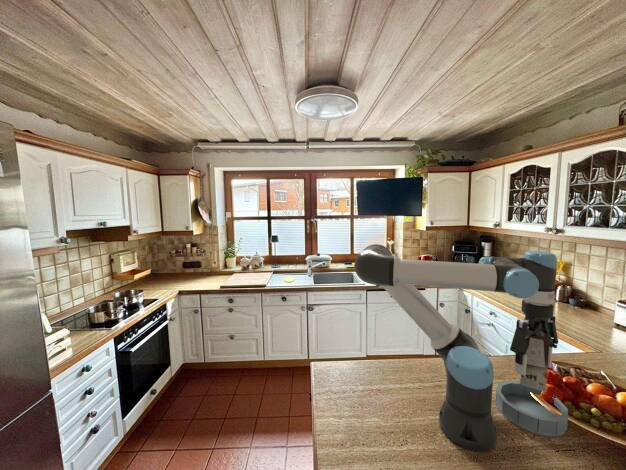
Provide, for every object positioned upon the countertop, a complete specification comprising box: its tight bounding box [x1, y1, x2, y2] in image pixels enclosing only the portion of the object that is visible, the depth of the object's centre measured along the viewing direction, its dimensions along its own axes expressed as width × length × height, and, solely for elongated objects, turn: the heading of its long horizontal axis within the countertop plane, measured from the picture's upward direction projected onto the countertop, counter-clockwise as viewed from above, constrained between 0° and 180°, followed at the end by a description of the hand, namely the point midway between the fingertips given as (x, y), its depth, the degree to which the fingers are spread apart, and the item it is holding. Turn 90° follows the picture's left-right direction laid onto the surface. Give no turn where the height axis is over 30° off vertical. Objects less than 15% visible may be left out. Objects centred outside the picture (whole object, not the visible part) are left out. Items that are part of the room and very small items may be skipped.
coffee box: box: [519, 330, 550, 392], centre depth 83 cm, size 9×6×16 cm
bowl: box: [495, 380, 569, 438], centre depth 85 cm, size 17×17×5 cm
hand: (533, 369), depth 83 cm, fingers closed on coffee box, 11 cm apart
